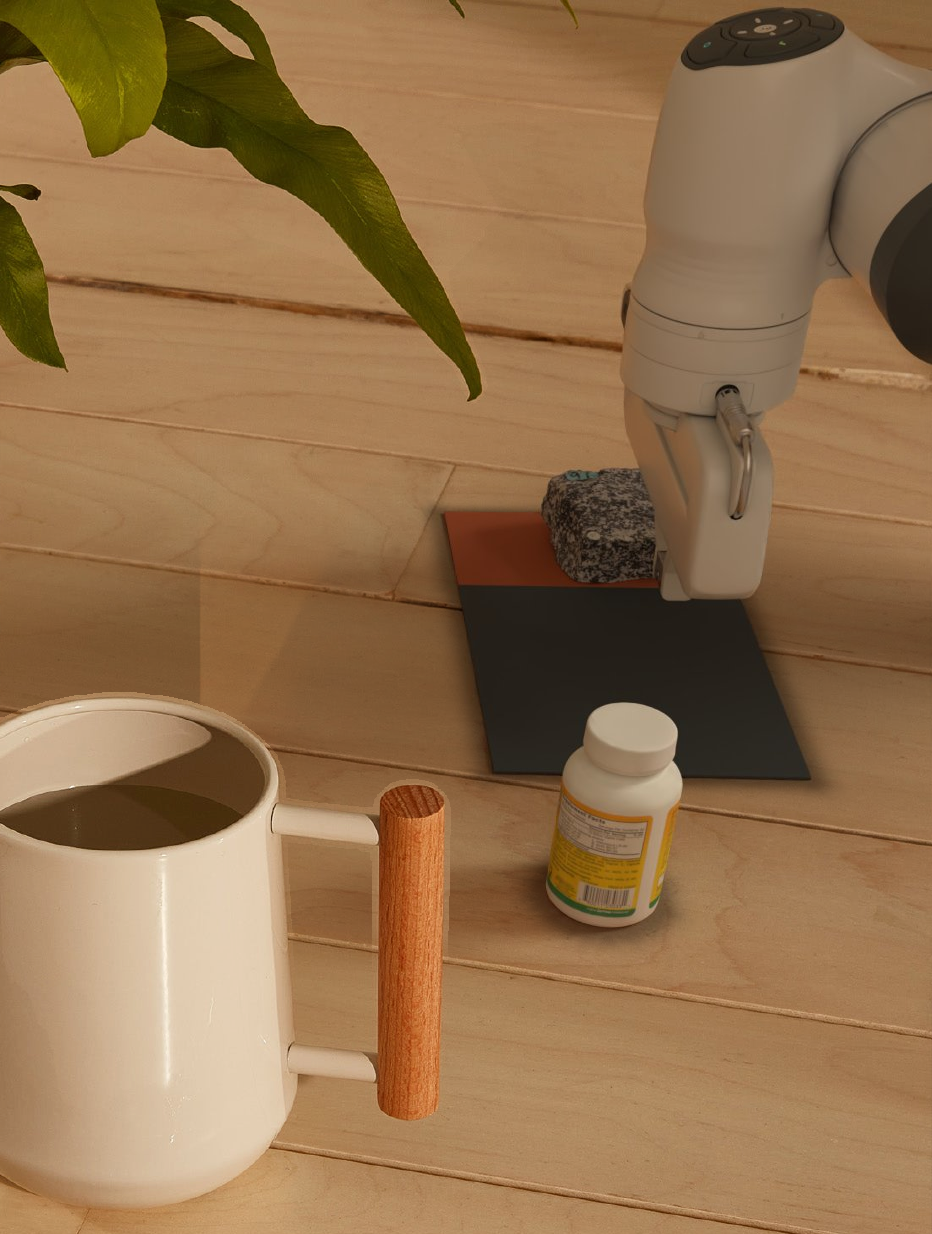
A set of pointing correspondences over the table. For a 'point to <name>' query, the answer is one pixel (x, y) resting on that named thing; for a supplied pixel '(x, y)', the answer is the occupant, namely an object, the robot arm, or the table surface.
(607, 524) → the rock
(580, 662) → the mat
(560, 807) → the supplement bottle
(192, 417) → the table surface
